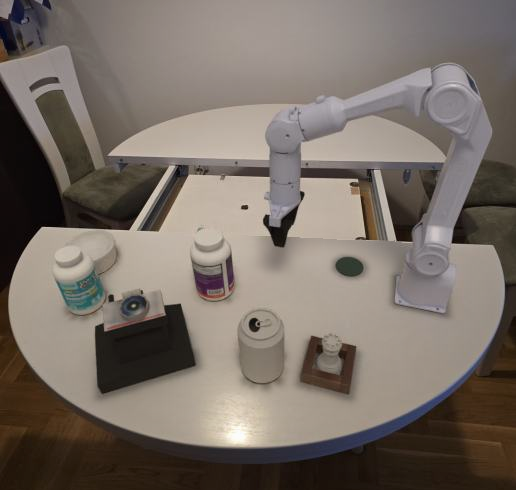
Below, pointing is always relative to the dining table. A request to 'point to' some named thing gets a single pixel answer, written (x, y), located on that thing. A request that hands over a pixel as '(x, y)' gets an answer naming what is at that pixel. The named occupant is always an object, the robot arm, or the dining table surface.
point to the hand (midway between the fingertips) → (284, 234)
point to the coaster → (349, 266)
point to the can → (261, 345)
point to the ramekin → (97, 248)
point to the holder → (327, 378)
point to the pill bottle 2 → (212, 264)
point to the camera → (140, 340)
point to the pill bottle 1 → (78, 280)
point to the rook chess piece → (330, 355)
